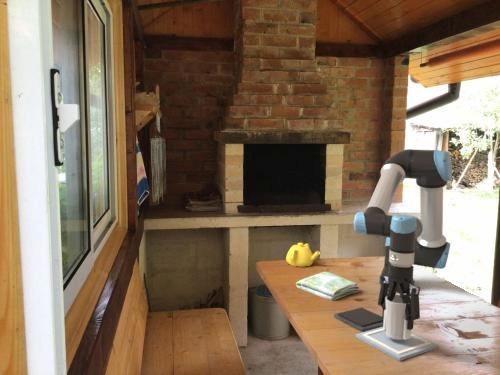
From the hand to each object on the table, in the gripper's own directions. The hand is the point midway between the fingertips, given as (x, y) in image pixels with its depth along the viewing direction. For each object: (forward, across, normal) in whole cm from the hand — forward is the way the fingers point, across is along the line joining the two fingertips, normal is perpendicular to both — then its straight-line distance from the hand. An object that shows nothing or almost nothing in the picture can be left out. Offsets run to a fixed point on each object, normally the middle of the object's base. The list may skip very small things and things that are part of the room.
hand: (396, 333), depth 144 cm
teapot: (+4, -85, +29) cm, 90 cm away
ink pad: (+3, -18, +3) cm, 18 cm away
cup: (+1, 0, 0) cm, 1 cm away
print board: (+3, 0, 0) cm, 3 cm away
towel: (+4, -49, +14) cm, 51 cm away
